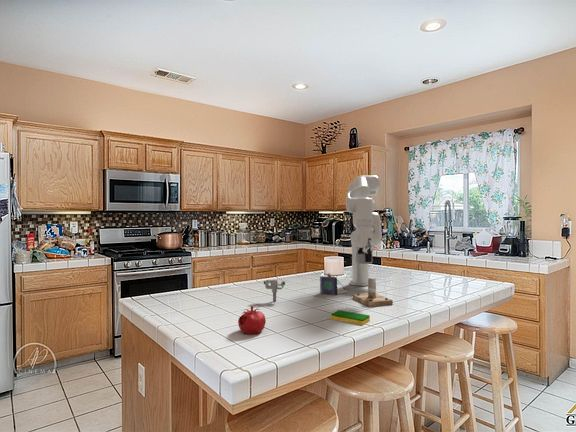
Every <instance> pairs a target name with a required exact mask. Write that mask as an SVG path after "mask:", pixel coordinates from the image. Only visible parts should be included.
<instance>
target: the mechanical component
mask: <svg viewBox="0 0 576 432" xmlns="http://www.w3.org/2000/svg"><path fill="white" fill-rule="evenodd" d="M263 284H264V287H265V289H267V290H271V292H272V302H273V303H276V302H277V293H278V290H282V289H283V288H284V287H285V285H286V281H284V280H281V282H280V283H279V282H278V280H276V279H275V280H274V279H266V280H263ZM280 286H281V287H280Z"/></svg>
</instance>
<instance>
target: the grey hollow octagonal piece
mask: <svg viewBox="0 0 576 432" xmlns="http://www.w3.org/2000/svg"><path fill="white" fill-rule="evenodd" d="M365 254H366V253H356V263H359V264H370V265H371V264H373V261H372V262H365Z"/></svg>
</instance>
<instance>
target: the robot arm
mask: <svg viewBox="0 0 576 432" xmlns="http://www.w3.org/2000/svg"><path fill="white" fill-rule="evenodd" d="M380 190H381V179H380V177H379V176H377V175H367V174H365V175H358V176H356V177H354V179H353V182H351V183H349V184H348V187H347V191H348V193H347V194H346V197H345V209H346V211H347V212H348V213H351V214H352V224H353V227H354V228H355V230H354V231H352V232H351V233H350V243H351V261H352V262H351V270H352V271H351V273H352V274H351V276H350V278H351V280H350V281H349V285H352V286H358V287H362V286H363V287H366V286H367V287H368V278H370V277H369V276H370V273H369V270H370V269H369V268H370V267H369V264H359V263H356V253H366V254H365V262H372V263H373V251H374V248H375V247H380V246H381V243H382V227H381V225H382V223H381V216H380V214H379V213H378V212H375V210H376V209H375V208H376V202H375V200H374V199H373V198H372V197H376V196H378V194H379V192H380Z"/></svg>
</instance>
